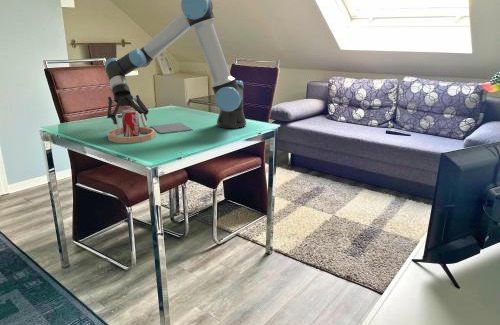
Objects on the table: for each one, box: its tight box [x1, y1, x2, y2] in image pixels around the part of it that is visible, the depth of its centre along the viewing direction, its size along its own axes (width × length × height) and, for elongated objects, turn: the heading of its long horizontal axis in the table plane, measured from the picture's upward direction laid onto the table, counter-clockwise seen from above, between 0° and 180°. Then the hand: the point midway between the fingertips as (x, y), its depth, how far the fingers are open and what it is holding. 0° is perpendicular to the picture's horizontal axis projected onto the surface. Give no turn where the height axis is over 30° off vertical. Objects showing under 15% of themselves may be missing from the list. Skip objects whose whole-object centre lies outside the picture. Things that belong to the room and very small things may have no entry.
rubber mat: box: [149, 122, 193, 135], centre depth 187 cm, size 16×16×1 cm
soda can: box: [121, 109, 141, 137], centre depth 169 cm, size 7×7×12 cm
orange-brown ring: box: [107, 126, 156, 144], centre depth 170 cm, size 20×20×2 cm
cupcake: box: [118, 106, 135, 115], centre depth 213 cm, size 9×8×12 cm
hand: (133, 128), depth 167 cm, fingers open, 11 cm apart
